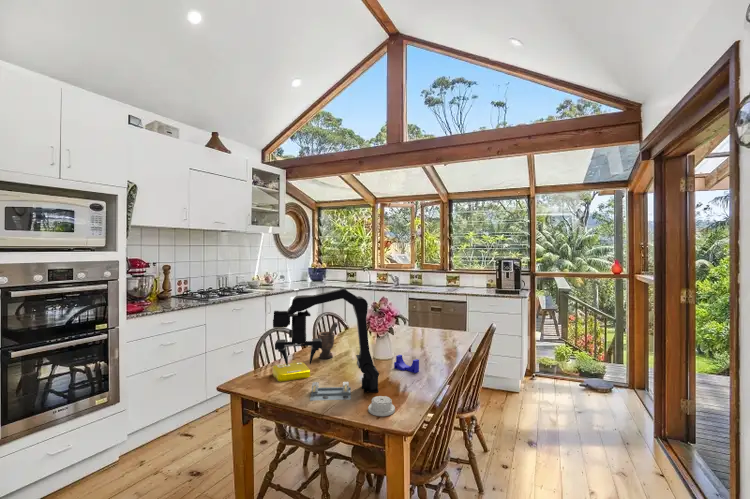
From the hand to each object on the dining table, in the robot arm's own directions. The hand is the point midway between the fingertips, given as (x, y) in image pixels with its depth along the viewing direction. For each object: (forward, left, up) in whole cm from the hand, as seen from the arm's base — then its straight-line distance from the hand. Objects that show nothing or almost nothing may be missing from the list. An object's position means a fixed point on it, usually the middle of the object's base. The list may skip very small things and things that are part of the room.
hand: (298, 364), depth 155 cm
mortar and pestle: (-10, -50, -13) cm, 52 cm away
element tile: (+6, -22, -13) cm, 26 cm away
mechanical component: (-33, +16, -13) cm, 39 cm away
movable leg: (-7, +3, -11) cm, 14 cm away
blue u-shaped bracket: (-49, -28, -13) cm, 58 cm away
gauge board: (-13, +2, -12) cm, 18 cm away
